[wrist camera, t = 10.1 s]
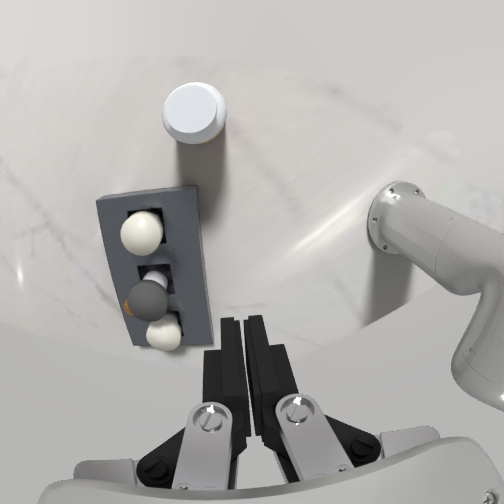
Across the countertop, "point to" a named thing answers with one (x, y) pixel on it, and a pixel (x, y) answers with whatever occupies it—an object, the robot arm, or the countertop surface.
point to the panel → (161, 258)
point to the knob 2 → (165, 332)
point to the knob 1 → (142, 232)
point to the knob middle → (149, 297)
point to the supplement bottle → (194, 113)
